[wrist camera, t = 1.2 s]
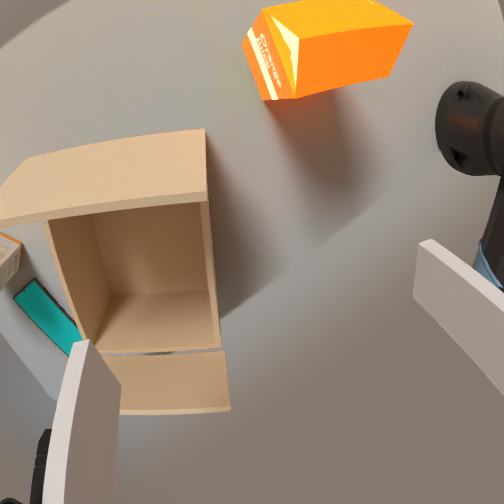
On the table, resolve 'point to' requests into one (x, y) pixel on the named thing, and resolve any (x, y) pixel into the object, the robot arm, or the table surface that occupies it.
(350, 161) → the table surface
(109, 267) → the carton
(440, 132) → the robot arm
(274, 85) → the orange juice
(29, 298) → the smartphone
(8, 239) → the supplement box
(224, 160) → the table surface
